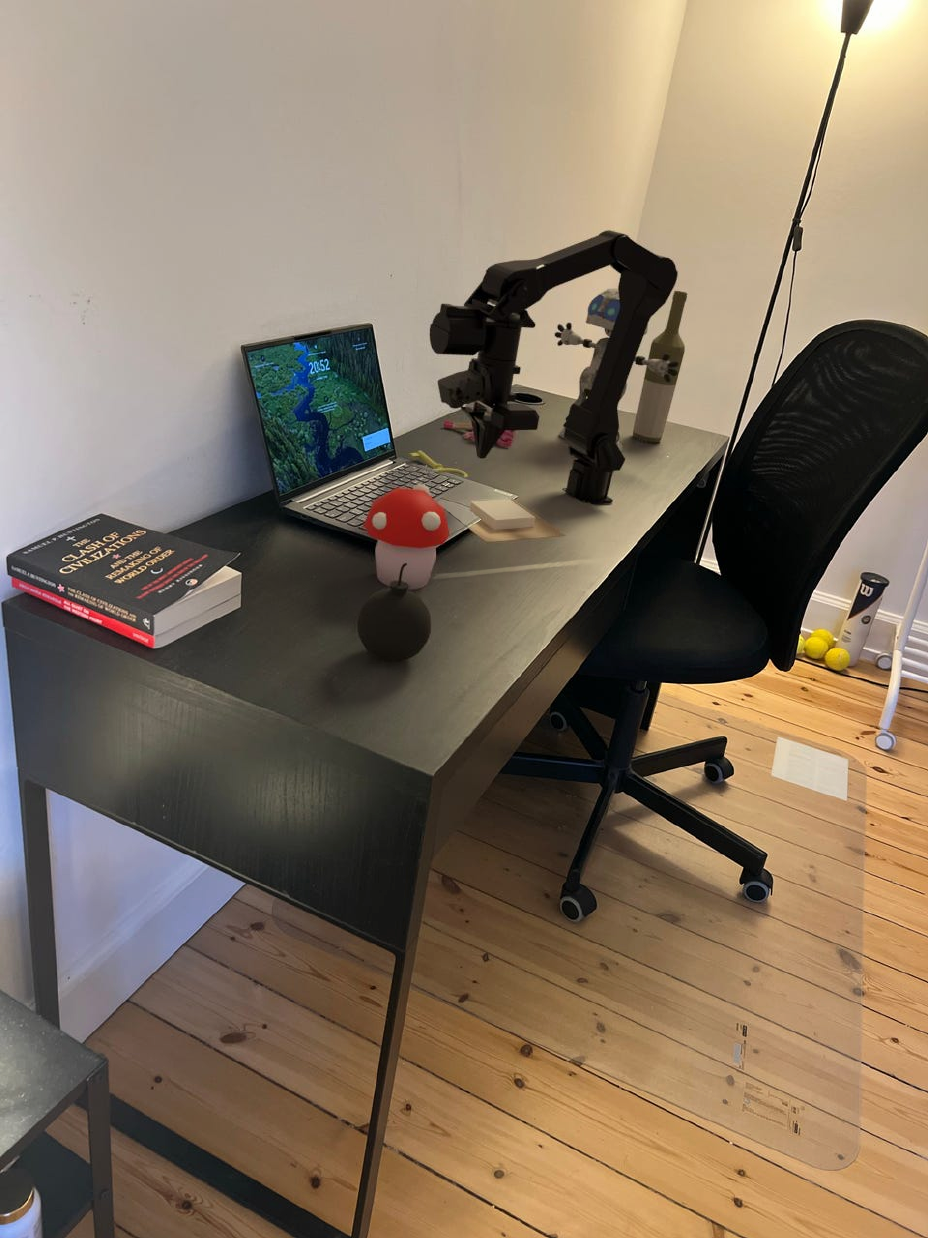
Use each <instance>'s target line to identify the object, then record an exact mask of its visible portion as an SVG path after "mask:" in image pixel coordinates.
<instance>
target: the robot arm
mask: <svg viewBox="0 0 928 1238" xmlns="http://www.w3.org/2000/svg"><path fill="white" fill-rule="evenodd" d="M609 266H610V268H612V269H613V270H615V271H616V272H617V273H618V274H620V277H619V282H618V286H617V288H618V292H619V302H620V309H619V312H618V315H617V318H616V321H615V324H614V326H613V329H612V332H611V335H610V337H609V340H608V343H607V346H606V349H605V352H604V354H603V357H602V360H601V363H600V366H599V368H598V371H597V374H596V377H595V380H594V382H593V385H592V388H591V391H590V394H589V396H588V397H586V399H585V400H584V401H583V402H582V403H581V404H580V405H579V406H578V405H576V404H574V402H573V403H572V404H571V406H570V408H569V411H568V415H567V416H568V418H567V420H565V422H564V423H563V425H562V427H563V428H564V427H565V432H564V438H565V439H564V438H563V439H564V440H565V441H566V445H567V449H568V454H569V455H570V456H571V457H574V458H576V459H574V460H573V462H572V468H571V469H570V470H569V474H568V479H567V483H566V487H563V488H562V489H561V490H563V491H564V492H565V493H566V494H568V495H569V496H571V497H573V498H574V499H577V500H578V501H580V502H582V503H589V504H590V505H597V504H599V505H601V504H612V503H613V501H614V500H613V499H612V498H611V497H609V496H608V495H609V491H610V486H611V482H612V478H613V473H614V472H617V471H618V472H619V471H620V470H621V469H622V467H623V465H624V463H625V461H626V457H625V455H624V454H623V453H622V451H620V449H619V448H618V446H617V445H616V439H617V434H618V432H619V429H620V420H619V413H618V412H619V411H618V406H619V404H620V401H621V400H620V398H621V395H622V393H623V390H624V387H625V384H626V382H627V381H628V379H629V377H630V374H631V371H632V368H633V365H634V364H635V363H634V360H635V357H637V356H638V355H637V354H638V352H639V349H640V347H641V344H642V340H643V338H644V336H645V335H644V333H645V330H646V328H647V325H648V326H649V322H650V320H651V318H652V316H654V315H655V314H656V313H657V312H658V311H659V310H660V309H661V308H662V307H663V306H664V305H665V304H666V303H667V301H668V299H669V297H670V295H671V293H672V291H673V289H674V288H675V286H676V283H677V280H678V274H679V273H678V270H677V267H676V263H675V262H674V260H673V259H671V258H669V257H666V256H664V255H663V256H662V255H660V254H656V253H654V252H652V251H651V250H648V249H647V248H645V247H644V246H642V245H640V244H639V243H637V242H636V241H634V239H631V237H630V236H629V235H628V234H625V233H622V232H618V231H615V230H610V229H609V230H604V231H602V232H600V233H599V234H598V235H595V236H593V237H590V238H588V239H584V240H582V241H580V242H578V243H575V244H572V245H570V246H567V247H564V248H561V249H559V250H556V251H554V252H551V253H549V254H547V255H544V256H541V257H538V258H535V259H519V260H518V259H517V260H516V259H515V260H510V261H509V260H508V261H504V262H496V263H495V264H492V265H490V266H489V267H488V268H487V269H486V270H485V274H484V276H483V278H482V281H481V282H480V283H479V284H478V286H477V287H476V288H475V290H474V291H473V292H472V293H471V294H470V296H469V297H468V298H467V300H466V301H465V302H464V303H463V305H454V304H450V303H441V304H440V308H439V310H440V311H438V312H437V313H436V314H435V316H434V318H433V320H432V323H430V327H429V342H430V347H431V349H432V351H433V352H434V353H435V354H436V355H450V356H451V355H453V356H455V355H456V356H457V355H458V356H475V355H477V357H476V358H474V357H472V358H470V361H469V363H468V367H467V369H466V370H463V371H458V372H455V373H452V374H450V375H447V376H445V377H442V378H439V379H438V380H437V387H438V393H439V398H440V402H441V403H443V404H446V405H448V406H449V408H451V409H454V410H455V409H460V410H461V411H462V412H463V413H464V414H465V415H466V417H468V418H469V420H470V423H472V427H473V433H474V439H475V442H474V444H475V453H476V456H477V458H479V459H480V460H481V459H486V457H487V456H488V455H489V453H490V452H491V451H492V450H493V448H494V446H495V445H497V444H496V443H497V441H498V439H499V438H500V437H501V435H502V434H503V433H504V432H505V431H506V430H515V431H536V430H538V426H539V421H540V415H539V413H538V412H537V410H536V409H535V408H532V407H530V406H529V405H527V404H524V403H513V402H516V398H517V394H515V393H513V392H512V387H513V382H514V376H515V375H520V374H521V370H522V367H521V366H518V365H517V364H516V363H517V357H518V352H519V345H520V338H521V336H522V335H521V334H522V333H521V332H522V328H525V329H527V328H528V329H534V328H535V327H536V322H535V321H534V320H533V318H531V316H530V315H529V311H528V310H527V309H529V308H530V307H532V306H533V305H536V303H539V302H540V301H541V300H542V299H543V297H544V296H545V295H546V294H548V292H549V291H550V290H552V289H554V288H556V287H558V286H560V285H563V284H567V283H569V282H572V281H573V280H576V279H578V278H581V277H583V276H586V275H588V274H591V273H594V272H596V271H599V270H601V269H603V268H606V267H609ZM489 303H490V304H489ZM627 383H628V382H627ZM621 399H622V398H621ZM509 402H510V403H509ZM511 402H512V403H511ZM464 405H465V406H464Z"/></svg>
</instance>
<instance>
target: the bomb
mask: <svg viewBox="0 0 928 1238" xmlns="http://www.w3.org/2000/svg"><path fill="white" fill-rule="evenodd" d="M406 565H407V563H404V564H403V565H402V567H401V570H400V575H399V581H392V582H391V583H390V586H389V588H388V587H387V588H383V589H380V590H378V591H376V592H374V593H373V594H372V595H370V596H369V597H368V598H367V599H366V600H365V601H364V602H363V604H362V605H361V607H360V610H359V611H358V612H359V613H358V616H357V625H356V626H357V633H358V637H359V639H360V641H361V643H362V645H363V647H364V648H365V649H366V650H367V652H368V653H370V654H371V655H373V656H374V657H375V658H376V659H379V660H382V661H385V662H391V663H392V662H394V663H395V662H396V663H398V662H404V661H406V660H409V659H412V658H413V657H415V656H416V655H418V654H419V653H420V652H421V651H422V650H423V649H424V647H425V646H426V645H427V643H428V640H429V639H430V637H431V632H432V619H431V613H430V610H429V608H428V606H427V605H426V604H425V602H424V601H423V600H422V599H421V597H420V596H419V595H417V594H416V593H414V592H412V591H410V590H407V589H408V587H409V585H408V583H406V582H403V581H401V579H402V573H403V569H404V567H405V566H406Z"/></svg>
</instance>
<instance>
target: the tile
mask: <svg viewBox="0 0 928 1238" xmlns="http://www.w3.org/2000/svg"><path fill="white" fill-rule="evenodd" d="M469 510H470V511H471V512H473V513H474V514H475V515H476V516H478V517H479V518H480V519H481V521H483V522H484V523H485V524H487V525H488V526H489V527H491V528H492V529H493V530H504V529H517V528H529V527H534V522H535V517H534V516H533V515H531V514H530V513H529V512H527V511H526V510H524V509H523V508H521V507H520V506H519V505H517V504H516V503H514V502H513V501H511V500H510V499H502V500H485V501H471V502H470V509H469Z"/></svg>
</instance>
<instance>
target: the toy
mask: <svg viewBox="0 0 928 1238" xmlns="http://www.w3.org/2000/svg"><path fill="white" fill-rule="evenodd" d="M443 428H444V429H448V430H453V431H465V432H466V433H463V434H462V436H463V439H464V440H467V441H469V440H471V441H473V442H474V443H475V439H474V433H473V427H472V423H471V422H454V421H453V422H451V421H449V420H444V423H443ZM516 437H517V436H516V430H506V431H505V432H504V433H503V434H502V435H501V437H500V438H499V439H498V441H497V442H496V444H495V445H498V446H499V447H501V448H505V449H507V448H509V449H510V448H511V447H512V446H513V445H512V444H513V443H514V442H515V440H516Z"/></svg>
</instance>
